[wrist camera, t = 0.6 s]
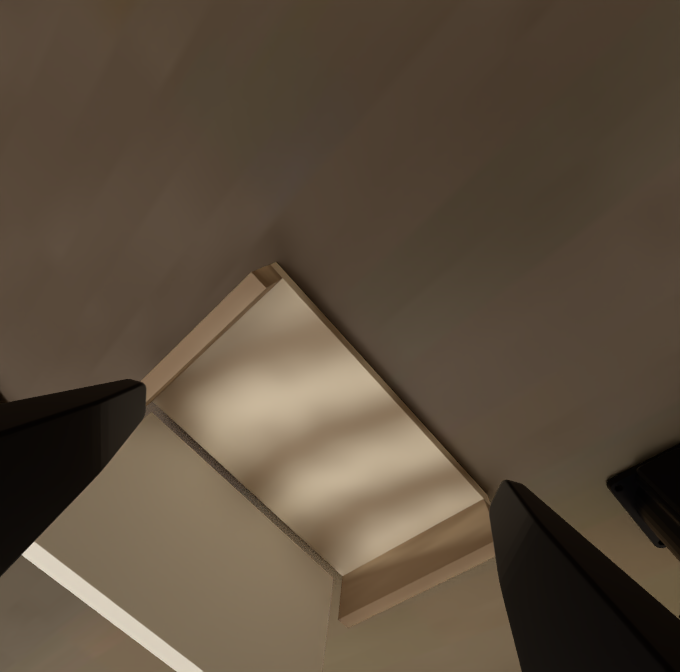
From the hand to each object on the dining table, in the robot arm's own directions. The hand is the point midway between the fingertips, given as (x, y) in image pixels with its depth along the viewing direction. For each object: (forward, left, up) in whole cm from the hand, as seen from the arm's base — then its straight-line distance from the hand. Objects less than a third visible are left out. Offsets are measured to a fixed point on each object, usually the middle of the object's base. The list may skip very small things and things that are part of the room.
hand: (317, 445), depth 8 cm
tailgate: (-5, +15, -11) cm, 19 cm away
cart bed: (-5, +8, -13) cm, 16 cm away
